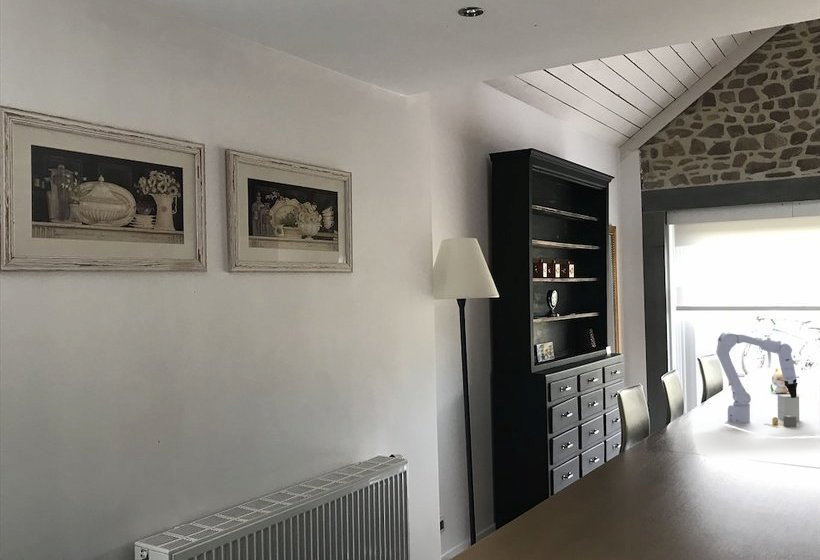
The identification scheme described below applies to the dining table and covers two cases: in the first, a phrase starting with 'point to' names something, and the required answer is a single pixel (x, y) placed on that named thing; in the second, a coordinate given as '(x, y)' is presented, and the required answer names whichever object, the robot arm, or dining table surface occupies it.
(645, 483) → the dining table surface
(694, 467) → the dining table surface
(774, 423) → the stud
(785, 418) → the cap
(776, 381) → the kitten
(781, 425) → the board
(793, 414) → the supplement box
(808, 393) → the dining table surface
